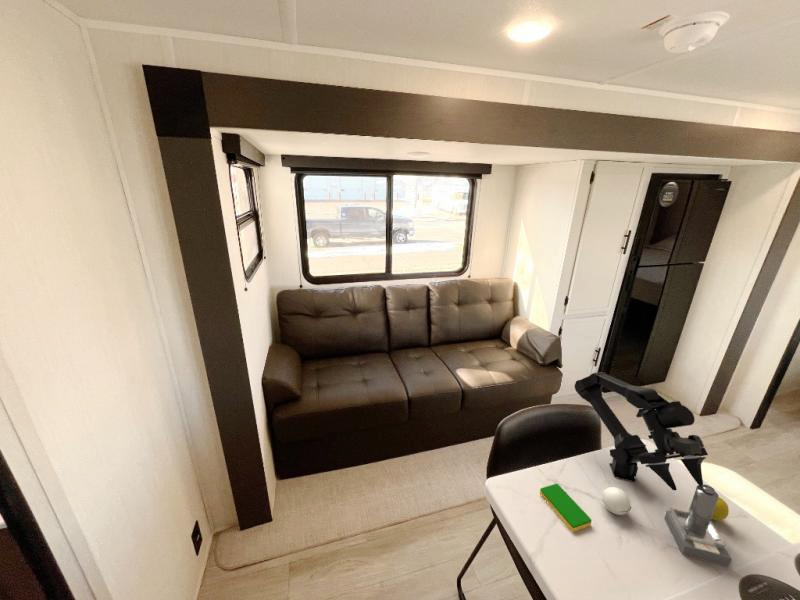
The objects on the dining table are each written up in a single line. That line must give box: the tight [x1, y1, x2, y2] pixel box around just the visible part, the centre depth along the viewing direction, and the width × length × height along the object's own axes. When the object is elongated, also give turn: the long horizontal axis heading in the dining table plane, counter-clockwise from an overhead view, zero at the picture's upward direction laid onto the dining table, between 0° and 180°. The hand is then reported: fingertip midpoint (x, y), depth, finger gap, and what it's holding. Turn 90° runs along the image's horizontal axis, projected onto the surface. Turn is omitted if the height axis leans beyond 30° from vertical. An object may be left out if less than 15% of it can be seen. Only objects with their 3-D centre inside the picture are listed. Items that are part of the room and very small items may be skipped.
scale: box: [663, 507, 733, 568], centre depth 89 cm, size 10×11×5 cm
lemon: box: [711, 496, 730, 521], centre depth 95 cm, size 6×6×8 cm
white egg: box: [601, 486, 632, 516], centre depth 98 cm, size 10×7×7 cm
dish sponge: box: [539, 483, 592, 533], centre depth 99 cm, size 7×14×2 cm, turn 17°
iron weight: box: [685, 484, 720, 536], centre depth 87 cm, size 4×4×14 cm
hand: (688, 487), depth 91 cm, fingers open, 9 cm apart
